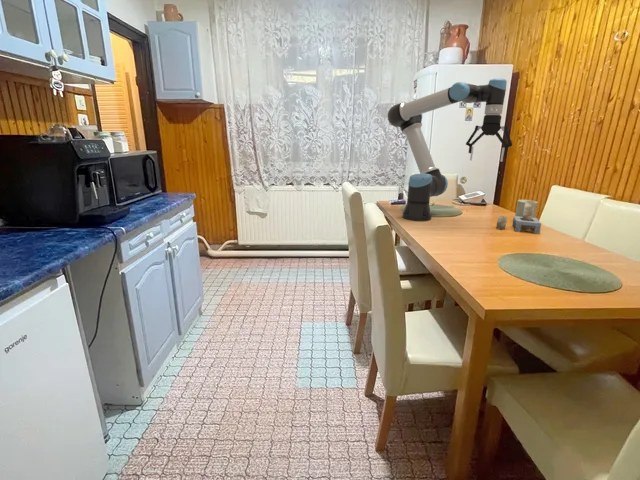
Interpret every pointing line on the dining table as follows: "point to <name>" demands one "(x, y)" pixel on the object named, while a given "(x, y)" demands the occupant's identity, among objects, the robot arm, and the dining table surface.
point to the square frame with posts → (533, 224)
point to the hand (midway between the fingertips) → (485, 161)
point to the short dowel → (501, 222)
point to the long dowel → (528, 214)
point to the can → (521, 208)
